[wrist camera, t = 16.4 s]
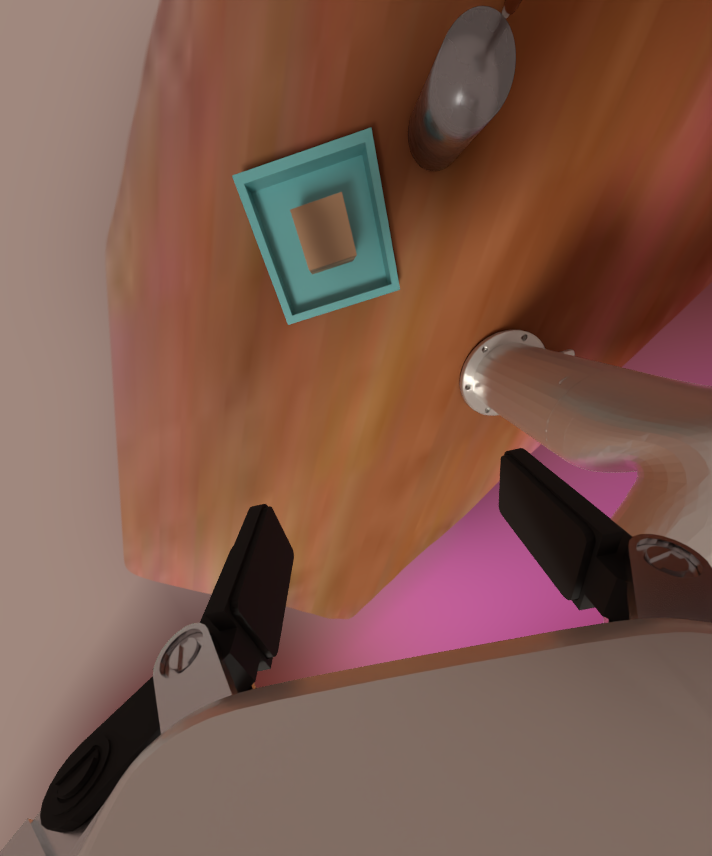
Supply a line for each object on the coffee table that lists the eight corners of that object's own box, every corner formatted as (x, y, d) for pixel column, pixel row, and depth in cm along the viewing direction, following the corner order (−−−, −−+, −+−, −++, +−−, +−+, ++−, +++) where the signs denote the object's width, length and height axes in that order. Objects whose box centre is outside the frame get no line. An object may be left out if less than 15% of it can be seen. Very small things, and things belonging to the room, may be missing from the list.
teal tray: (367, 144, 26) (371, 127, 24) (394, 290, 33) (399, 289, 30) (241, 187, 27) (232, 175, 24) (291, 322, 33) (288, 324, 31)
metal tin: (463, 78, 25) (516, -9, 18) (468, 160, 28) (515, 114, 21) (403, 100, 25) (431, 23, 18) (413, 179, 28) (441, 139, 21)
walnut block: (340, 208, 28) (341, 191, 24) (353, 261, 30) (356, 255, 26) (296, 223, 28) (289, 209, 24) (312, 274, 31) (309, 270, 26)
